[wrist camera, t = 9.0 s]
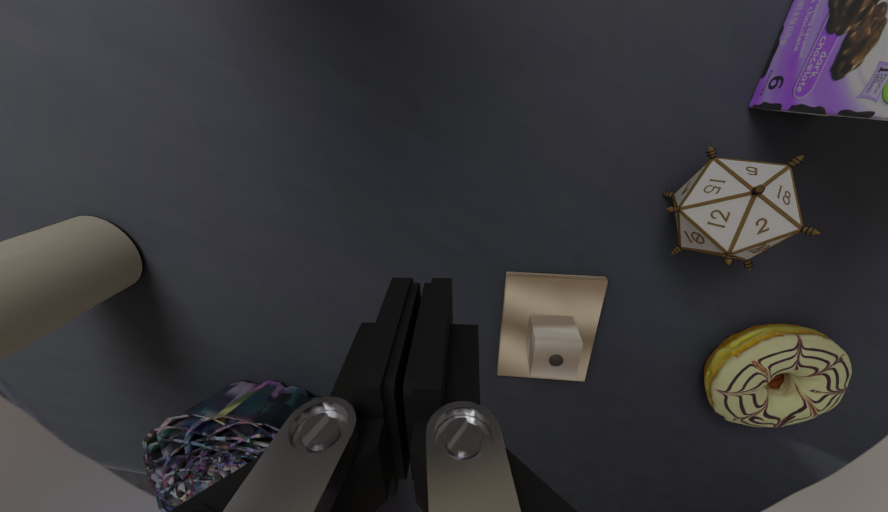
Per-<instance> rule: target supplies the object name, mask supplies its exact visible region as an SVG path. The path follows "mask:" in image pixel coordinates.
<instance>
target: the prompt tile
mask: <svg viewBox="0 0 888 512" xmlns="http://www.w3.org/2000/svg"><path fill="white" fill-rule="evenodd" d="M607 283H608V280H607V278H606V277H605V276H585V275H564V274H544V273H524V272H506V281H505V291H504V302H503V312H502V323H501V333H500V344H499V354H498V365H497V375H501V376H515V377H529V378H543V379H557V380H571V381H585V377H586V373H587V368H588V364H589V360H590V356H591V351H592V347H593V343H594V339H595V334H596V330H597V326H598V322H599V317H600V313H601V309H602V305H603V300H604V296H605V292H606V288H607Z"/></svg>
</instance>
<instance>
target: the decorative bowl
mask: <svg viewBox="0 0 888 512" xmlns="http://www.w3.org/2000/svg"><path fill="white" fill-rule="evenodd" d="M317 398H318V397H311V396H310V395H309V394H308V392H307V391H306V390H305V389H304V388H301V387H297V386H293V385H292V386H289V387H285V386H284V385H283V384H281V383H279V382H275V381H266V382H264V383H262V384H257V383H253V382H249V381H245V380H243V381H240V382H236V383H233V384H231V385H229V386H227V387H226V388H224V389H222V390H221V391H219V392H217V393H216V394H214V395H212V396H210V397H209V398H207V399H205V400H204V401H202V402H200V403H199V404H197V405H195V406H194V407H192V408H190V409H189V410H187V411H185V412H184V413H182V414H180V415H179V416H176V417H170V418H167V420H166V421H165V422H164V423H163V424H162V425H161V427H160V428H157V429H153V430H151V432H150V433H149V434H148V435H147V437H146V438H145V439H144V441H143V442H142V444H143V448H144V453H145V455H144V457H143V459H144V462H145V465H146V467H147V470H146V471H147V475H148V479H149V483H150V486H151V487H152V488H153V489H154V490H155V492H156V493H157V494H158V496H157V502H158V507H159V509H160V510H161V511H162V512H170V511H171V510H173V509H174V508H176V507H177V506H179V505H181V504H182V503H184V502H186V501H187V500H189V499H190V498H192V497H194V496H195V495H197V494H199V493H200V492H202V491H204V490H205V489H207V488H208V487H210V486H212V485H213V484H215V483H217V482H218V481H220V480H221V479H223V478H225V477H226V476H228V475H230V474H231V473H233V472H234V471H236V470H238V469H239V468H241V467H243V466H244V465H246V464H248V463H249V462H251V461H252V460H254V459H256V458H257V457H259V456H261V455H262V454H263V453H264V452H265V450H266V449H267V447H268V446H269V444H270V443H271V442H272V440H273V439H274V437H275V436H276V434H277V433H278V431H279V430H280V429H281V427H282V426H283V424H284V423H285V421H286V420H287V419H288V418H289V417H290V415H291V414H292V413H293V412H294V411H295V410H296V409H298V408H299V407H301V406H302V405H303V404H305V403H307V402H309V401H312V400H314V399H317Z"/></svg>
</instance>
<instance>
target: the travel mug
mask: <svg viewBox="0 0 888 512" xmlns="http://www.w3.org/2000/svg"><path fill="white" fill-rule="evenodd" d="M141 273H142V261H141V257H140V255H139V252H138V250H137V248H136V247H135V245H134V244H133V242H132V241H131V240H130V239H129V238H128V236H127V235H126V234H125V233H123V232H122V231H121V230H120V229H119V228H117V227H116V226H114V225H113V224H111V223H109V222H107V221H105V220H103V219H100V218H97V217H93V216H78V217H75V218H72V219H69V220H66V221H63V222H60V223H57V224H54V225H51V226H48V227H45V228H41V229H38V230H35V231H32V232H29V233H26V234H23V235H20V236H17V237H14V238H11V239H8V240H5V241H2V242H0V360H2V359H4V358H6V357H7V356H9V355H11V354H13V353H14V352H16V351H18V350H20V349H21V348H23V347H25V346H27V345H28V344H30V343H32V342H33V341H35V340H37V339H39V338H40V337H42V336H44V335H46V334H47V333H49V332H51V331H53V330H54V329H56V328H58V327H60V326H61V325H63V324H65V323H66V322H68V321H70V320H72V319H73V318H75V317H77V316H79V315H80V314H82V313H84V312H86V311H87V310H89V309H91V308H92V307H94V306H96V305H98V304H99V303H101V302H103V301H105V300H106V299H108V298H110V297H112V296H113V295H115V294H117V293H119V292H120V291H122V290H124V289H125V288H127V287H129V286H131V285H132V284H134V283H135V282H137V281H138V279H139V278H140V276H141Z"/></svg>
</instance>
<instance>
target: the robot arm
mask: <svg viewBox="0 0 888 512" xmlns="http://www.w3.org/2000/svg"><path fill="white" fill-rule="evenodd" d="M409 462H411V471H412V479H413V480H414V487H415V495H416V502H417V504H418V505H419V506H420V508H421V509H422V510H423V512H577V511H576V510H575V509H574V508H573V507H571V506H570V505H569V504H568V503H567V502H566V501H565V500H564V499H563V498H561V497H560V496H559V495H558V494H557V493H556V492H555V491H554V490H552V489H551V488H550V487H549V486H548V485H547V484H546V483H545V482H543V481H542V480H541V479H540V478H539V477H538V476H537V475H536V474H535V473H533V472H532V471H531V470H530V469H529V468H528V467H527V466H526V465H524V464H523V463H522V462H521V461H520V460H519V459H518V458H517V457H515V456H514V455H513V454H512V453H511V452H510V451H509V450H508V449H507V448H505V445H504V441H503V437H502V433H501V429H500V427H499V424H498V422H497V420H496V418H495V417H494V416H493V415H492V413H491V412H490V411H489V410H487V409H486V408H484V407H483V406H481V405H480V385H479V347H478V325H463V324H453V314H452V279H451V278H432V282H431V283H425V284H424V288H423V293H422V298H421V293H420V284H419V283H413V279H412V278H392V280H391V283H390V285H389V288H388V291H387V293H386V296H385V299H384V301H383V304H382V307H381V309H380V312H379V315H378V317H377V320H376V323H362V324H361V326H360V327H359V329H358V332H357V334H356V336H355V339H354V341H353V343H352V346H351V348H350V350H349V353H348V355H347V357H346V360H345V362H344V364H343V367H342V369H341V371H340V374H339V376H338V378H337V381H336V383H335V385H334V388H333V390H332V392H331V395H330V397H322V398H317V399H314V400H312V401H309V402H307V403H305V404H303V405H302V406H301V407H299V408H298V409H296V410H295V411H294V412H293V413H292V414H291V415H290V417H289V418H288V419H287V420H286V421H285V423H284V424H283V426H282V427H281V429H280V430H279V431H278V433H277V434H276V436H275V437H274V439H273V440H272V442H271V443H270V444H269V446H268V447H267V449H266V450H265V452H264V453H263V454H262V455H261V456H259V457H257V458H256V459H254V460H252V461H251V462H249V463H248V464H246V465H244V466H243V467H241V468H239V469H238V470H236V471H234V472H233V473H231V474H230V475H228V476H226V477H225V478H223V479H221V480H220V481H218V482H217V483H215V484H213V485H212V486H210V487H208V488H207V489H205V490H204V491H202V492H200V493H199V494H197V495H195V496H194V497H192V498H190V499H189V500H187V501H186V502H184V503H182V504H181V505H179V506H177V507H176V508H174V509H173V510H171V511H170V512H375V510H376V509H378V508H379V507H380V506H381V505H382V504H383V503H385V502H386V501H387V498H388V494H392V495H396V492H397V487H398V481H399V479H402V480H406V478H407V474H408V468H409Z"/></svg>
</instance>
